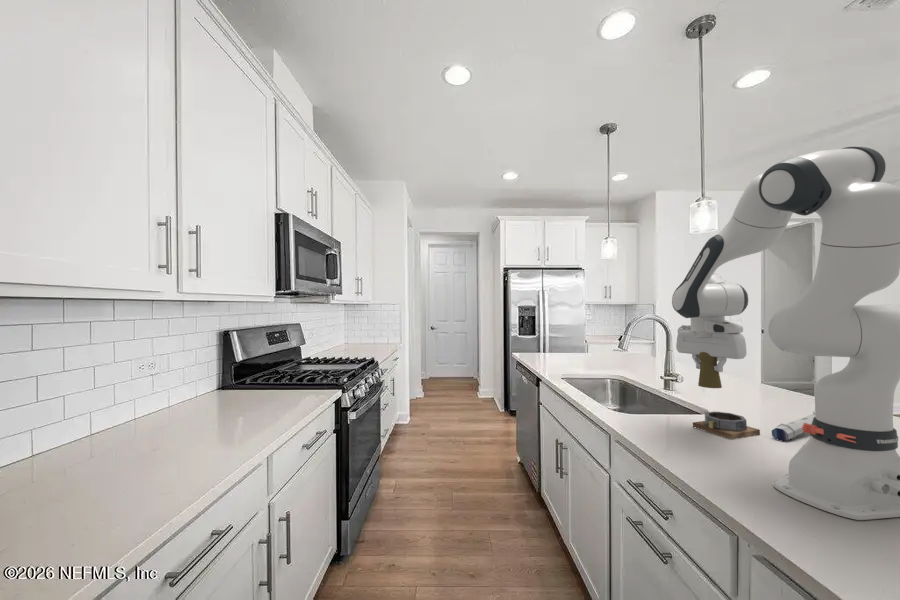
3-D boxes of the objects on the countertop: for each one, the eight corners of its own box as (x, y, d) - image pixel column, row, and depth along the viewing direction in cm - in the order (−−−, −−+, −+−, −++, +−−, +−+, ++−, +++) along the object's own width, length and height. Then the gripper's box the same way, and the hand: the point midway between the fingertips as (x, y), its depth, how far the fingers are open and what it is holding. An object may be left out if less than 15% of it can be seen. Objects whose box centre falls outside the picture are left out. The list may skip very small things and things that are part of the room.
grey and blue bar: (767, 425, 108) (815, 403, 117) (770, 447, 108) (817, 424, 117) (789, 430, 103) (837, 408, 112) (792, 453, 104) (839, 429, 113)
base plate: (730, 439, 107) (730, 434, 107) (692, 427, 119) (692, 422, 119) (760, 434, 111) (759, 429, 111) (720, 423, 122) (720, 418, 122)
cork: (725, 386, 114) (723, 350, 114) (717, 389, 110) (715, 352, 111) (702, 383, 119) (701, 349, 119) (694, 386, 115) (693, 351, 116)
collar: (727, 433, 108) (726, 423, 108) (695, 423, 118) (695, 413, 118) (753, 429, 111) (753, 419, 111) (721, 419, 121) (720, 410, 121)
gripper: (670, 325, 124) (672, 366, 124) (733, 327, 105) (735, 376, 104) (684, 324, 126) (686, 365, 126) (749, 326, 107) (751, 374, 106)
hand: (709, 370), depth 115 cm, fingers closed on cork, 4 cm apart
